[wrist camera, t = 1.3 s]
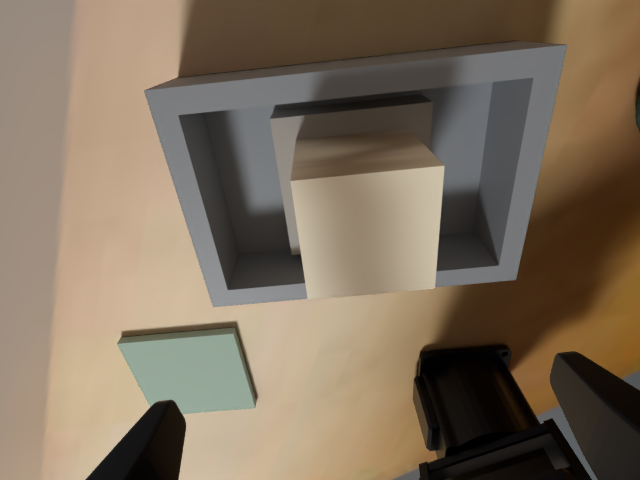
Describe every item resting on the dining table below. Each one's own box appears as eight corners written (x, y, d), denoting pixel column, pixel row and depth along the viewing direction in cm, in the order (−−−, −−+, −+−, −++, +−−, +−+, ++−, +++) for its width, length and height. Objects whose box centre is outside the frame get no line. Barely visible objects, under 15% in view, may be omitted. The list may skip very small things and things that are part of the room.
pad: (234, 327, 25) (233, 333, 25) (256, 401, 29) (255, 407, 29) (121, 337, 25) (117, 343, 25) (157, 409, 29) (155, 416, 29)
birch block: (408, 128, 16) (444, 165, 12) (406, 227, 19) (434, 288, 14) (295, 139, 16) (290, 180, 12) (308, 236, 19) (307, 299, 14)
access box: (514, 40, 17) (567, 44, 13) (483, 240, 22) (516, 280, 19) (177, 77, 17) (143, 90, 14) (228, 264, 22) (213, 307, 19)
